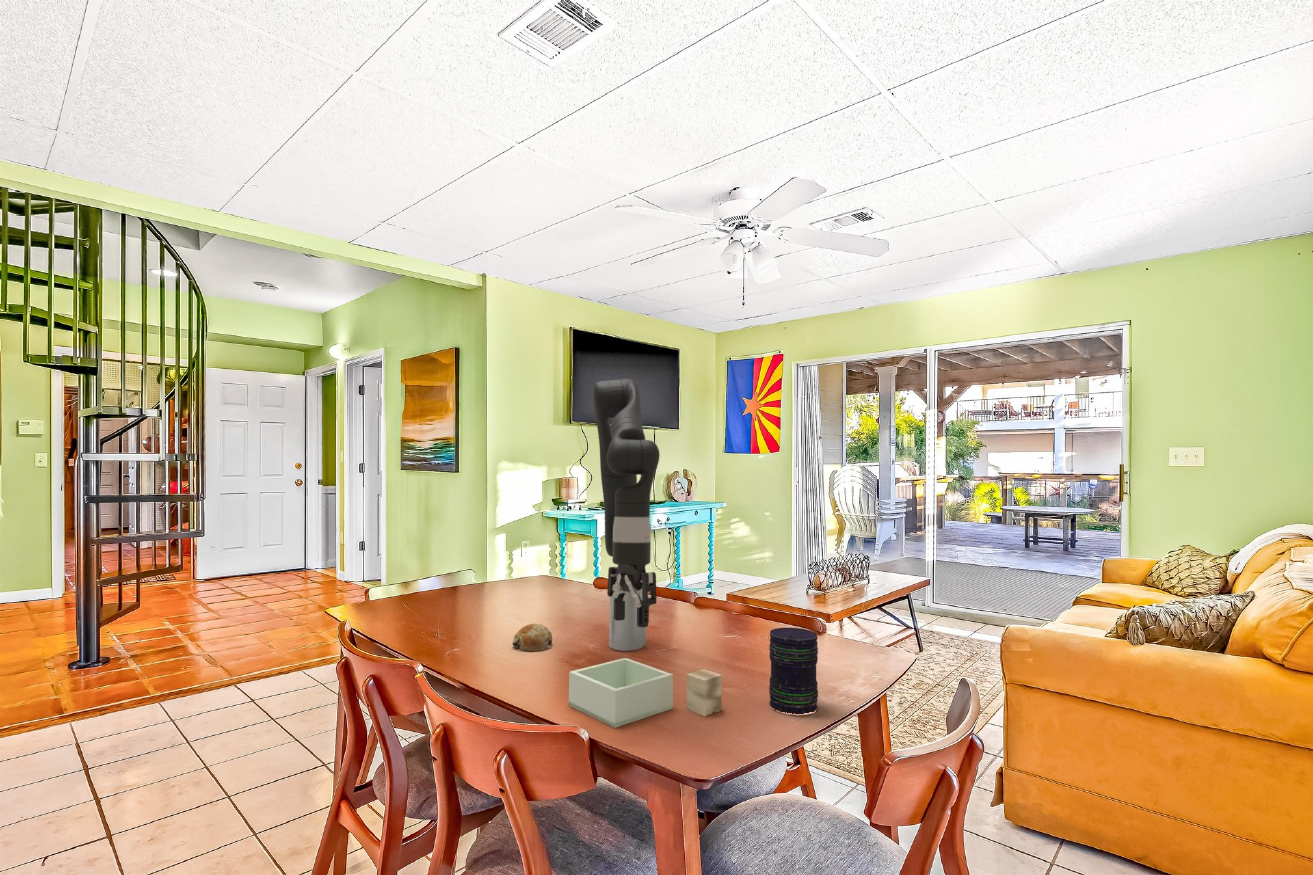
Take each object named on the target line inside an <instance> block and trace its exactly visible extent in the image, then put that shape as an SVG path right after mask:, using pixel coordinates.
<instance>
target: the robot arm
mask: <svg viewBox="0 0 1313 875" xmlns="http://www.w3.org/2000/svg"><path fill="white" fill-rule="evenodd" d="M592 391H593V393H592V394H593V395H592V396H593V397H592V398H593V405H594V406H593V407H594V414H595V419H596V428H597V434H598V446H599V465H600V466H599V467H600V478H601V487H602V496H603V497H602V498H603V505H604V506H603V507H604V543H605V544H604V545H605V551H606V553H607V555H608V556H609V557H611V558H612V563H613V564H615V565H616V566H609V567H608V574H607V593H606V594H607V597H609V623H608V624H609V626H608V627H609V630H608V636H609V638H608V639H609V640H608V647H609V648H610V649H612V650H615V651H619V652H620V651H621V652H622V651H624V652H630V651H636V650H640V649H642V648H643V647H644V646H645V647H646V646H647V627H648V626H649V622H650V619H649V617H650V607H651V606H652V605H656V604H657V574H656V572H655V571H651V572H647V570H646V566H647V565H650V564H651V551H652V550H651V548H652V547H651V546H652V545H651V543H652V542H651V541H652V538H651V537H652V536H651V535H652V534H651V533H652V530H651V529H652V528H651V519H650V517H651V516H650V515H651V507H650V506H651V492H652V486H653V482H654V478H655V475H656V472H657V470H658V469H657V468H658V465H659V462H660V449H659V447H658V445H657V444H656V442H654V441H653V440H650V439H649V440H648V439H646V435H645V432H644V428H643V425H642V421H641V420H642V409H641V399H640V398H641V397H640V390H639V386H638V385H637V383H636V382H635V380H633V379H631V378H621V379H611V380H610V379H609V380H608V379H607V380H600V381H597V382H595V383H594V386H593V390H592ZM609 419H612V421H611V422H610V420H609ZM639 475H640V478H639V480H638V477H637V476H639ZM649 594H650V595H649Z"/></svg>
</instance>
